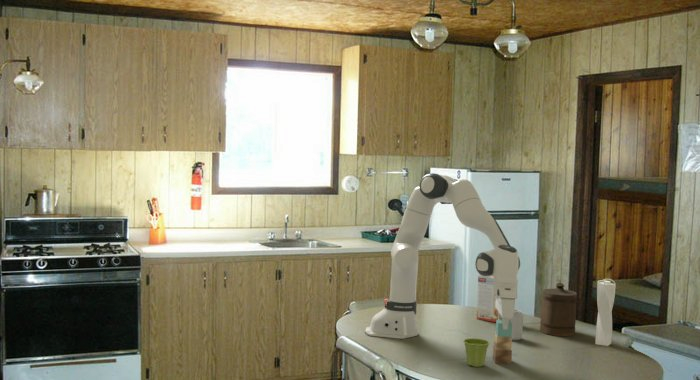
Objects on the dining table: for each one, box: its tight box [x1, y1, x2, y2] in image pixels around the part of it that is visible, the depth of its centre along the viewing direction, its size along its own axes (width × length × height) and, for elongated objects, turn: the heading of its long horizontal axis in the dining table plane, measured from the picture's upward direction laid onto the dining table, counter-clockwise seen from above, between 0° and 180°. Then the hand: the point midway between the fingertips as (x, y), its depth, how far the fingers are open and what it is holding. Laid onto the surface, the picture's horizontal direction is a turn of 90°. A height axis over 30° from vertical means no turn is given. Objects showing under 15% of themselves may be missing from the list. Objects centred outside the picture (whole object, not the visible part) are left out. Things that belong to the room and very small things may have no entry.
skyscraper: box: [594, 278, 617, 347], centre depth 305 cm, size 8×8×28 cm
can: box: [509, 309, 524, 341], centre depth 310 cm, size 8×8×12 cm
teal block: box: [495, 320, 512, 337], centre depth 275 cm, size 5×5×5 cm
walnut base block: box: [492, 345, 513, 365], centre depth 275 cm, size 6×6×5 cm
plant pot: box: [463, 337, 490, 368], centre depth 270 cm, size 9×9×9 cm
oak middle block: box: [493, 332, 513, 351], centre depth 275 cm, size 6×6×5 cm
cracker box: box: [476, 274, 499, 323], centre depth 341 cm, size 14×6×21 cm, turn 49°
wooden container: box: [539, 282, 578, 337], centre depth 323 cm, size 15×15×22 cm
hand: (502, 325), depth 275 cm, fingers open, 8 cm apart
